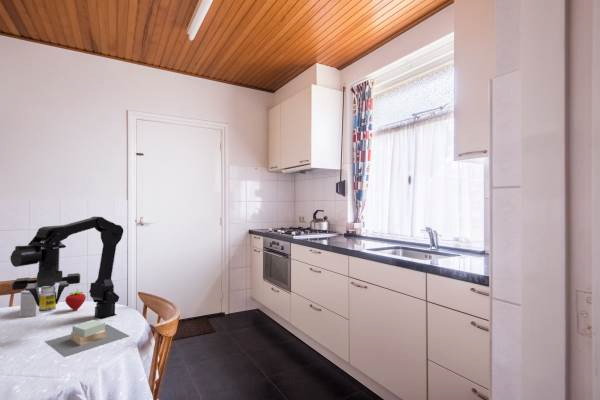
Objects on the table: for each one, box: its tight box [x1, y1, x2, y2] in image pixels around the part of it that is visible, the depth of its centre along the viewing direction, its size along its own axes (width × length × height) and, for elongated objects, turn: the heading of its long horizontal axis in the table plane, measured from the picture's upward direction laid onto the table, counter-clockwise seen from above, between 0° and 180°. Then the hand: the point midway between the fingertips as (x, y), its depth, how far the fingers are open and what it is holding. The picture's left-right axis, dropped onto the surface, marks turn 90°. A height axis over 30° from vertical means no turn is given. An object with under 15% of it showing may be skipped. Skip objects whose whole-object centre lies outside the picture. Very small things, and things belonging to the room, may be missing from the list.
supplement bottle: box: [39, 285, 57, 314], centre depth 112 cm, size 5×5×8 cm
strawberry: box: [65, 289, 87, 312], centre depth 140 cm, size 6×8×10 cm
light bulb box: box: [19, 286, 47, 317], centre depth 137 cm, size 11×7×11 cm, turn 5°
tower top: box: [71, 319, 106, 337], centre depth 111 cm, size 7×7×2 cm
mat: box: [44, 323, 130, 358], centre depth 111 cm, size 20×18×1 cm
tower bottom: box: [70, 330, 106, 346], centre depth 111 cm, size 8×8×2 cm
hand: (47, 304), depth 112 cm, fingers closed on supplement bottle, 5 cm apart
